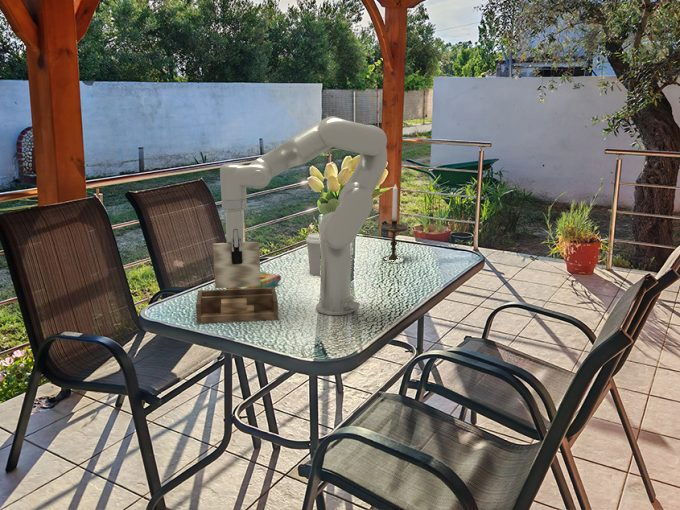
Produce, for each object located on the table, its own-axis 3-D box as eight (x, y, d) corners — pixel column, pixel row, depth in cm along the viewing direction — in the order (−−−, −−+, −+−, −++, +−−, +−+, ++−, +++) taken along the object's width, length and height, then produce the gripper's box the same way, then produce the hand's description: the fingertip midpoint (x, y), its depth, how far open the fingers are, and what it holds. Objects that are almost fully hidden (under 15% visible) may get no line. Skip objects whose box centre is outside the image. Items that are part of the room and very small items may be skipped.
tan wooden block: (253, 312, 203) (253, 297, 202) (254, 317, 198) (254, 302, 197) (221, 314, 201) (220, 298, 200) (221, 319, 197) (220, 303, 195)
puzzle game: (280, 273, 234) (242, 286, 218) (281, 285, 235) (242, 299, 219) (256, 268, 240) (217, 280, 224) (256, 280, 242) (217, 293, 226)
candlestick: (407, 264, 264) (410, 178, 255) (380, 264, 264) (382, 178, 255) (405, 257, 275) (407, 174, 266) (379, 257, 275) (381, 174, 266)
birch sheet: (260, 284, 206) (258, 241, 202) (260, 286, 204) (259, 242, 201) (215, 287, 204) (213, 243, 200) (215, 288, 202) (212, 244, 199)
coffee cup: (328, 277, 244) (328, 238, 241) (303, 276, 246) (303, 237, 242) (332, 270, 254) (333, 233, 250) (308, 269, 255) (308, 232, 252)
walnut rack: (275, 307, 210) (274, 287, 209) (278, 322, 197) (277, 300, 195) (199, 311, 206) (198, 290, 205) (197, 326, 193) (196, 304, 191)
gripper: (222, 200, 204) (225, 257, 209) (221, 209, 189) (224, 270, 194) (246, 199, 205) (248, 256, 210) (247, 208, 191) (250, 269, 195)
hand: (237, 262), depth 202 cm, fingers closed on birch sheet, 1 cm apart
